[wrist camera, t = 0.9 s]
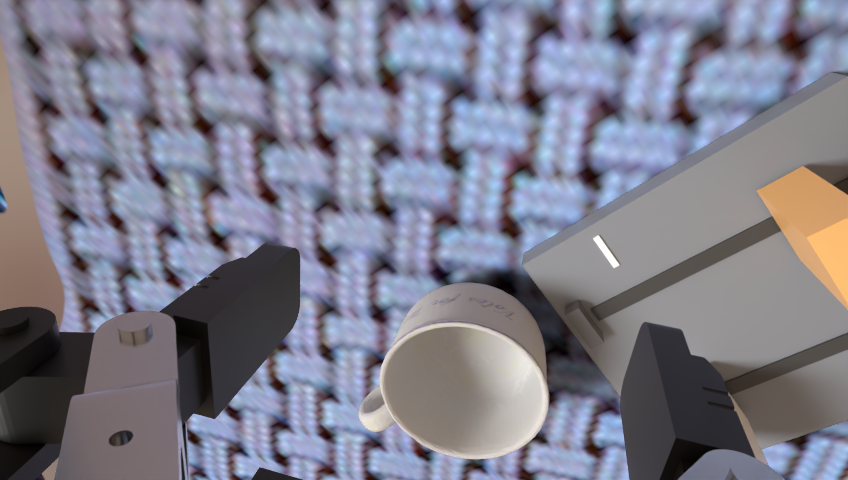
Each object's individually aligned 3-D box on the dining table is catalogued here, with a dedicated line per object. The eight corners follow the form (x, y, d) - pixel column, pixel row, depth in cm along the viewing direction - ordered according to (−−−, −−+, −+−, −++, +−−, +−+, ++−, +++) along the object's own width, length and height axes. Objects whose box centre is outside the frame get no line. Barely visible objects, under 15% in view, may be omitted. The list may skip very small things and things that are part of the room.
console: (830, 72, 30) (859, 78, 27) (987, 344, 33) (1028, 376, 30) (523, 253, 38) (520, 273, 35) (675, 456, 41) (683, 490, 38)
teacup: (526, 249, 38) (517, 306, 30) (569, 377, 41) (570, 456, 34) (353, 293, 42) (310, 351, 35) (403, 404, 45) (373, 478, 38)
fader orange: (803, 165, 29) (867, 208, 23) (846, 237, 30) (920, 296, 24) (756, 190, 30) (806, 237, 24) (799, 259, 31) (859, 321, 25)
